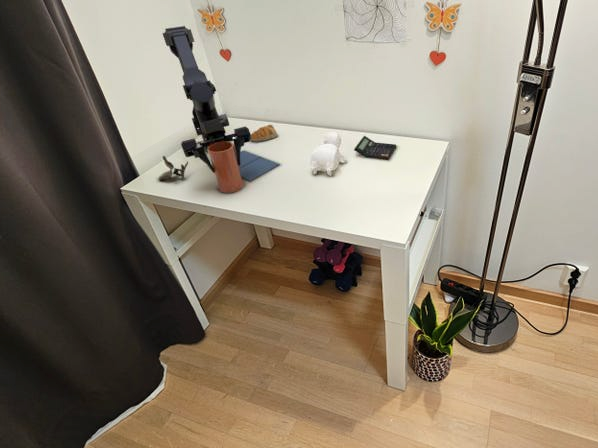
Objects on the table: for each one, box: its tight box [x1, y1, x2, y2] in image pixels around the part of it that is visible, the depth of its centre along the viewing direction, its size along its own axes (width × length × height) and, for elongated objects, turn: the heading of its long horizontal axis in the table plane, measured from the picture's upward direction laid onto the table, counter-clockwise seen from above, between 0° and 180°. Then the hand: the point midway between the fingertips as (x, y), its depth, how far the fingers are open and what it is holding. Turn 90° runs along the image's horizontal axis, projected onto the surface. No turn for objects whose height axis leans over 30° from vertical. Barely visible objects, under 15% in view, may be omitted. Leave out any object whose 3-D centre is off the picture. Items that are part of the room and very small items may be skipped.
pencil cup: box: [206, 141, 244, 194], centre depth 115 cm, size 7×7×13 cm
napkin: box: [239, 150, 280, 182], centre depth 128 cm, size 18×12×1 cm, turn 53°
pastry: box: [250, 124, 278, 143], centre depth 144 cm, size 9×7×4 cm
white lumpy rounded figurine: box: [310, 131, 346, 177], centre depth 124 cm, size 9×8×15 cm
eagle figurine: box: [158, 155, 189, 181], centre depth 123 cm, size 8×7×9 cm
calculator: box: [353, 135, 397, 161], centre depth 131 cm, size 9×12×3 cm
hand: (226, 168), depth 113 cm, fingers closed on pencil cup, 7 cm apart
